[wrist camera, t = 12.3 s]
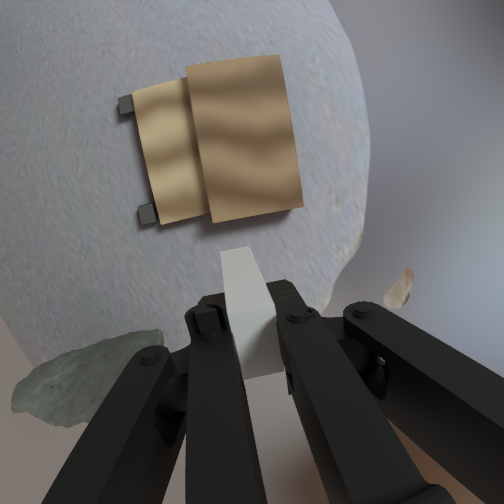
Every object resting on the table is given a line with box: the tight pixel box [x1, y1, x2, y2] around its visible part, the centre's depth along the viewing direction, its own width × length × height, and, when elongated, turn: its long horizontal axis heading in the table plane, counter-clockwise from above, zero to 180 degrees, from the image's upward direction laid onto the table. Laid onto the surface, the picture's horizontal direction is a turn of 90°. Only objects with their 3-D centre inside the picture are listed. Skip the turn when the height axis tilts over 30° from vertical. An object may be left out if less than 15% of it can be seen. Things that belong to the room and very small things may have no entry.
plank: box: [132, 77, 211, 225], centre depth 37 cm, size 18×9×5 cm, turn 11°
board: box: [186, 55, 304, 223], centre depth 37 cm, size 20×12×4 cm, turn 9°
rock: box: [11, 329, 164, 428], centre depth 35 cm, size 27×6×20 cm, turn 111°
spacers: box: [118, 94, 158, 225], centre depth 37 cm, size 17×2×2 cm, turn 9°
